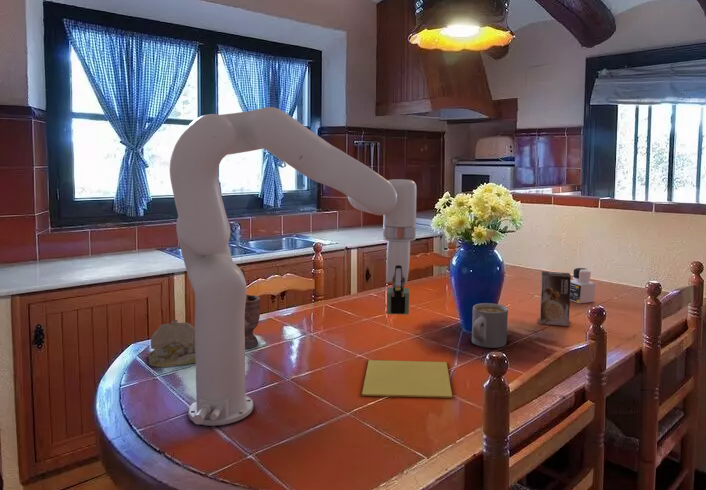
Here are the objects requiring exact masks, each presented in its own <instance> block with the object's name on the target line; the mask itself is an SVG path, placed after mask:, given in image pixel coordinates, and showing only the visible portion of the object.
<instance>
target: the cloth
mask: <svg viewBox="0 0 706 490" xmlns="http://www.w3.org/2000/svg"><path fill="white" fill-rule="evenodd" d="M367 361H368V362H367V367H366V372H365V377H364V381H363V386H362V391H361V396H363V397H365V396H366V397H400V398H401V397H406V398H407V397H408V398H442V399H443V398H446V399H453V393H452V387H451V381H450V375H449V374H450V373H449V369H448V368H449V367H448V362H447V361H422V360H421V361H419V360H418V361H417V360H380V359H377V360H376V359H368V360H367Z"/></svg>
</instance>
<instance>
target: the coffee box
mask: <svg viewBox="0 0 706 490" xmlns="http://www.w3.org/2000/svg"><path fill="white" fill-rule="evenodd" d="M571 280H572V276H571V273H570V272H558V271H544V270H541V280H540V281H541V284H540V307H539V308H540V309H539V324H540V325H551V326H563V327H569V326H570V309H571V300H570V285H571Z"/></svg>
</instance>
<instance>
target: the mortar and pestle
mask: <svg viewBox="0 0 706 490" xmlns="http://www.w3.org/2000/svg"><path fill="white" fill-rule="evenodd" d="M240 270H241V271H242V273H243V275H244V278H245V279H246V272H245V269H243V268H240ZM260 317H261V297H260V296H258V295H252V294H247V293H246V304H245V350H247V349H251V348H254V347H257V346H258V345H259V341H258V338H257V337H256V335H255V334H254V330H255V329H256V328H257V327H258V325H259V323H260Z"/></svg>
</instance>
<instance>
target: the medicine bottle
mask: <svg viewBox="0 0 706 490" xmlns="http://www.w3.org/2000/svg"><path fill="white" fill-rule="evenodd" d="M591 273H592V272H591V270H590V269H588V268H586V267H577V268H574V269H573V275H572V279H571V285H570V302H571V301H572V302H575V303H577V304H587V303H594V302H595V294H596V283H595V282H592V281H591V275H592V274H591Z"/></svg>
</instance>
